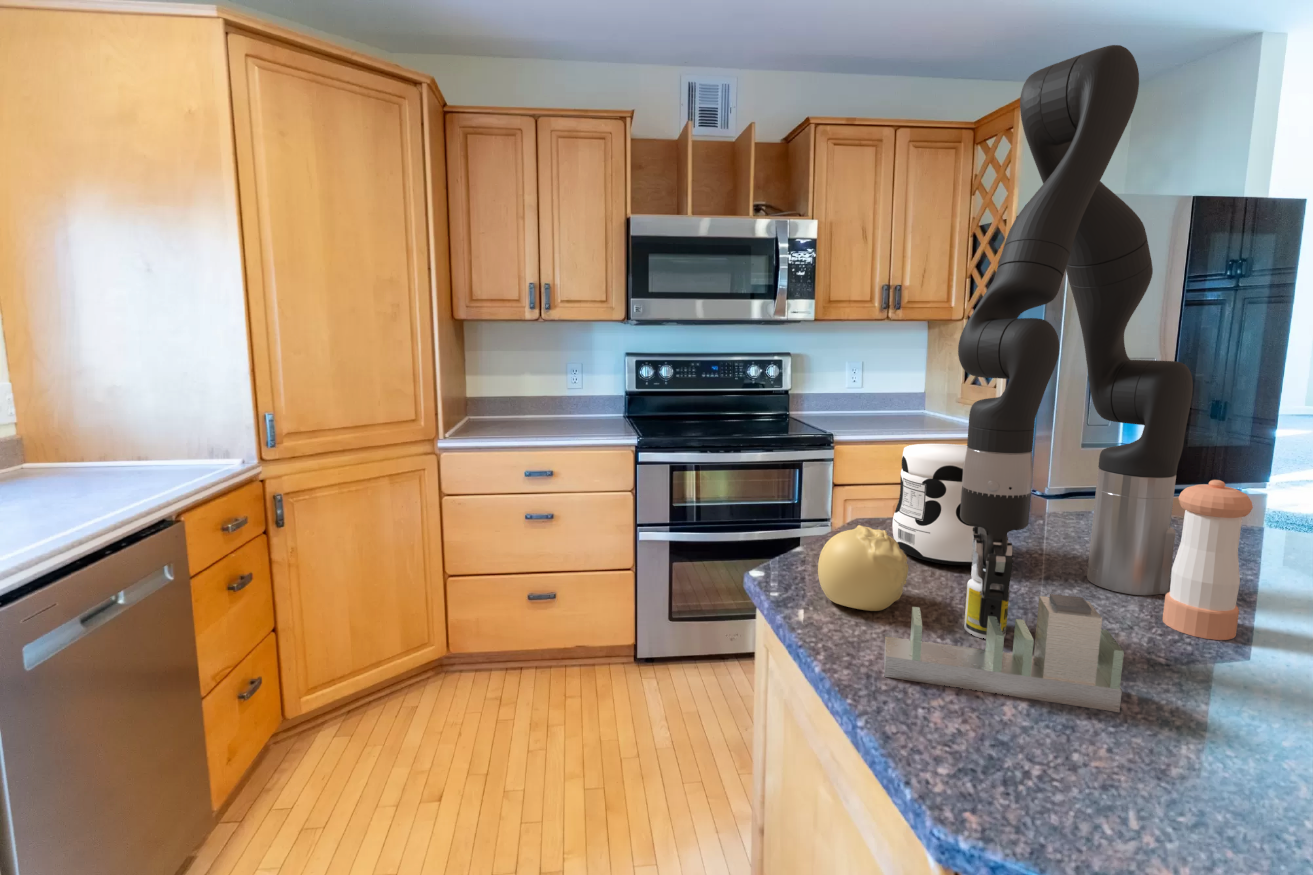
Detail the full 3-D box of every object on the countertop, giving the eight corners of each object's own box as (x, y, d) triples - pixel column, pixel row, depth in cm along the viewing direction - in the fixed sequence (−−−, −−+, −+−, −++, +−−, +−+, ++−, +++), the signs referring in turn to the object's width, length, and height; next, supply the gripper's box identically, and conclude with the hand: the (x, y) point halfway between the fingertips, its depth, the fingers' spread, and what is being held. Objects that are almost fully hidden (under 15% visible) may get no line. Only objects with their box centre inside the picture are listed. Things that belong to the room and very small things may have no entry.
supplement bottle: (1011, 642, 80) (1016, 576, 79) (969, 639, 81) (974, 573, 80) (999, 625, 85) (1004, 562, 84) (959, 622, 86) (964, 560, 85)
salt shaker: (1218, 645, 80) (1239, 489, 77) (1150, 622, 86) (1167, 477, 83) (1247, 632, 83) (1268, 483, 80) (1180, 611, 89) (1197, 472, 86)
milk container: (1007, 550, 114) (1016, 447, 112) (996, 581, 100) (1006, 464, 97) (903, 534, 124) (908, 439, 121) (879, 561, 109) (885, 453, 106)
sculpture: (914, 623, 86) (919, 543, 84) (819, 616, 88) (822, 538, 86) (898, 589, 97) (902, 518, 95) (814, 584, 99) (817, 514, 97)
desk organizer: (1103, 687, 70) (1113, 597, 69) (1119, 712, 65) (1130, 616, 64) (884, 655, 77) (888, 573, 76) (884, 676, 72) (889, 589, 71)
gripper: (1044, 502, 72) (1031, 648, 75) (1019, 475, 86) (1008, 600, 88) (969, 496, 75) (959, 638, 77) (956, 472, 88) (947, 593, 91)
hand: (985, 617), depth 83 cm, fingers closed on supplement bottle, 4 cm apart
